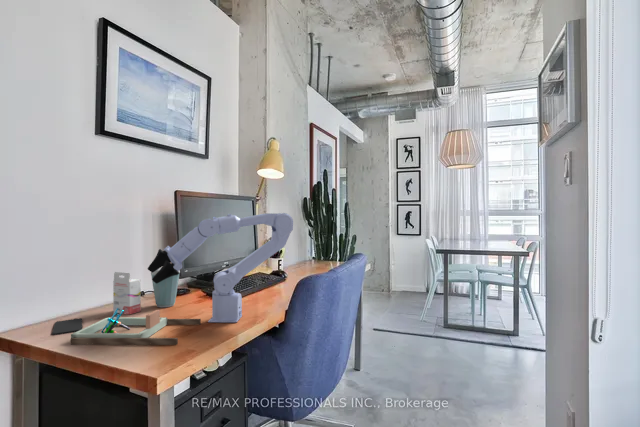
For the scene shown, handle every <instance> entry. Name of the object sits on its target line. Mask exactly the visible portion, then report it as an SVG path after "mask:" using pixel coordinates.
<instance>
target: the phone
mask: <svg viewBox="0 0 640 427" xmlns="http://www.w3.org/2000/svg"><path fill="white" fill-rule="evenodd" d="M81 329H83V318H82V317H80V318H79V317H78V318H71V319H64V320H57V321H55V322H54V325H53V328H52V332H51V334H52V336H58V335H59V336H60V335H66V334H73V333H75V332H77V331H79V330H81Z"/></svg>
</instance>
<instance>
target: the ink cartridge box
mask: <svg viewBox="0 0 640 427" xmlns="http://www.w3.org/2000/svg"><path fill="white" fill-rule="evenodd" d="M121 276H122V277H121ZM130 276H131V275H130V272H120V271H119V272H118V271H114V273H113V282H112V283H113V284H112V285H113V289H112V291H113V294H112V295H113V300H112V301H113V302H112V303H113V304H112V306H113V311H112V312H113V313H114V312H115V311H116V309H117V308H118V309H120V310H117V313H119V314H121V312H122V311H121V309H122V310H124V312H123V313H122V315H123V314H124V315H129V316H130V315H132V314H136V313H139V312H141V306H142V305H141V279H138V278H137V279H135V278H131V277H130Z"/></svg>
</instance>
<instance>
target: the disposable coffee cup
mask: <svg viewBox="0 0 640 427" xmlns="http://www.w3.org/2000/svg"><path fill="white" fill-rule="evenodd" d="M161 268H162V267H160V268H159V269H158V270H156V271H155V272H153V273H152V272H150V276H151V279H152V278H153V277H154V276H155V275H156V274H157V273H158V271H159V270H160V269H161ZM178 272H179V274H178V275H175V276H171V277H169V278H167V279H165V280H163V281H161V282H159V283H157V284H156V283H155V282H154V281H152V280H151V281H152V289H153V294H154V301H155V305H156V307H157V308H170V307H174V306H175V303H176V300H177V292H178V286H179V280H180V273H181V269H180V270H179V271H178Z"/></svg>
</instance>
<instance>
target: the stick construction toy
mask: <svg viewBox="0 0 640 427" xmlns="http://www.w3.org/2000/svg"><path fill="white" fill-rule="evenodd" d="M117 310H120V309H118V308H117V309H116V311H115V312H113V315H111V316H110V317H111V319H110V318H108V319H107V321H109V322H108V323H107V324H106V326H105V327H104V328H103V329H101V331H100V333H118V332H117V331H116V330H114V328H115V326H116V327H121V328H122V329H123V328H124V329H126V331H130V330H131V327H129V325H123V324H121V322H119V321H117V320H118V319H119V318H120V317H121V316H122V315H123V314H122V313H123V312H124V310H122V309H121V311H122V312H121V313H117ZM114 317H116V320H115V321H114V320H112V319H113V318H114ZM110 322H112V324H110ZM109 324H110V325H109Z"/></svg>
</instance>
